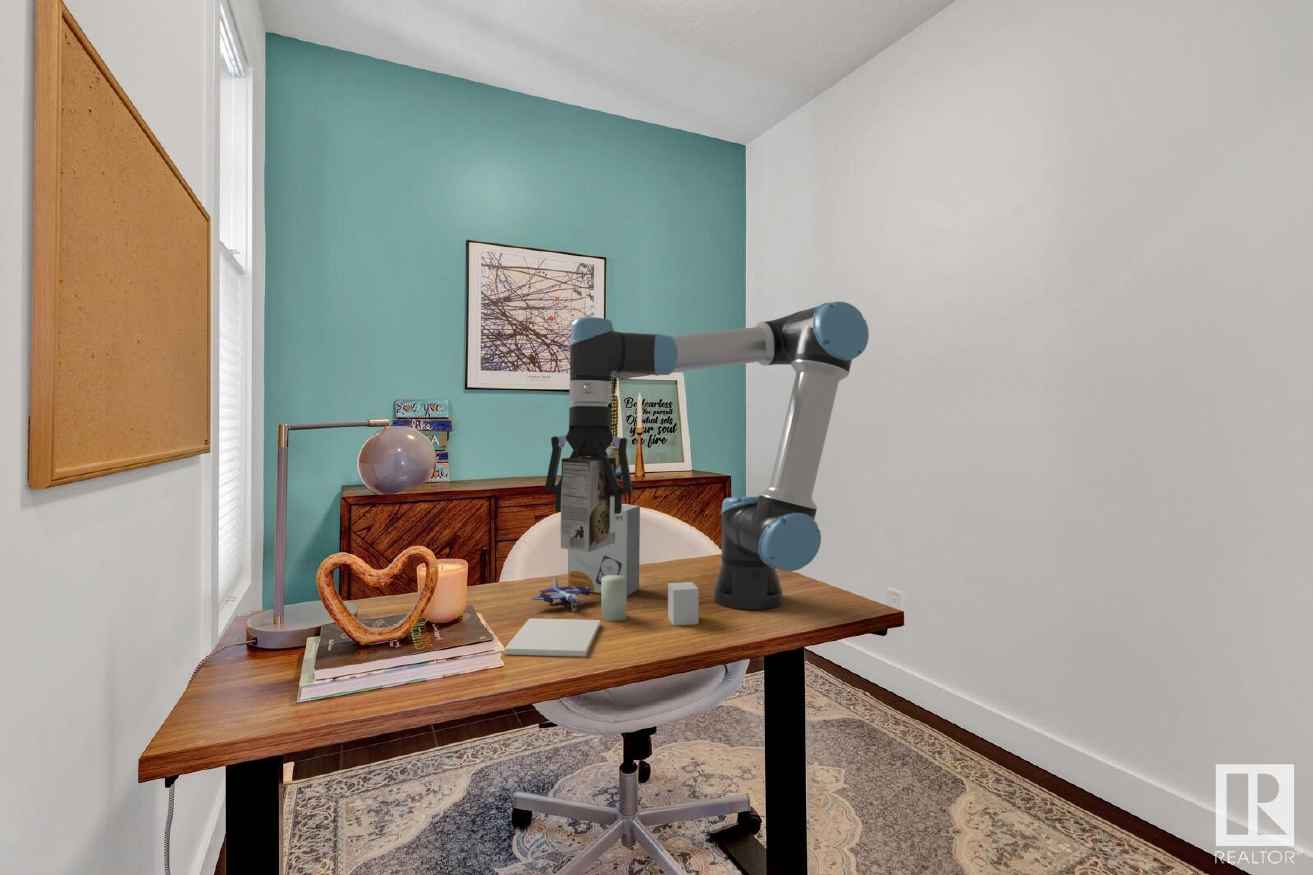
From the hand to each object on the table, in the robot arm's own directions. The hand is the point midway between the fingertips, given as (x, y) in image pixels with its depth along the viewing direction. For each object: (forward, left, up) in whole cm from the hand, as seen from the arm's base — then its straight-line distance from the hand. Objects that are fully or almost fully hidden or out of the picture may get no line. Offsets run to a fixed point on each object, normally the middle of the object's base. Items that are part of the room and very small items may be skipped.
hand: (588, 530), depth 114 cm
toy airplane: (+8, -19, -20) cm, 29 cm away
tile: (+6, 0, -20) cm, 21 cm away
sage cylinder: (-3, -13, -20) cm, 24 cm away
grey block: (-17, -12, -20) cm, 29 cm away
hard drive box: (+2, -33, -20) cm, 39 cm away
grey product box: (0, 0, -3) cm, 3 cm away
